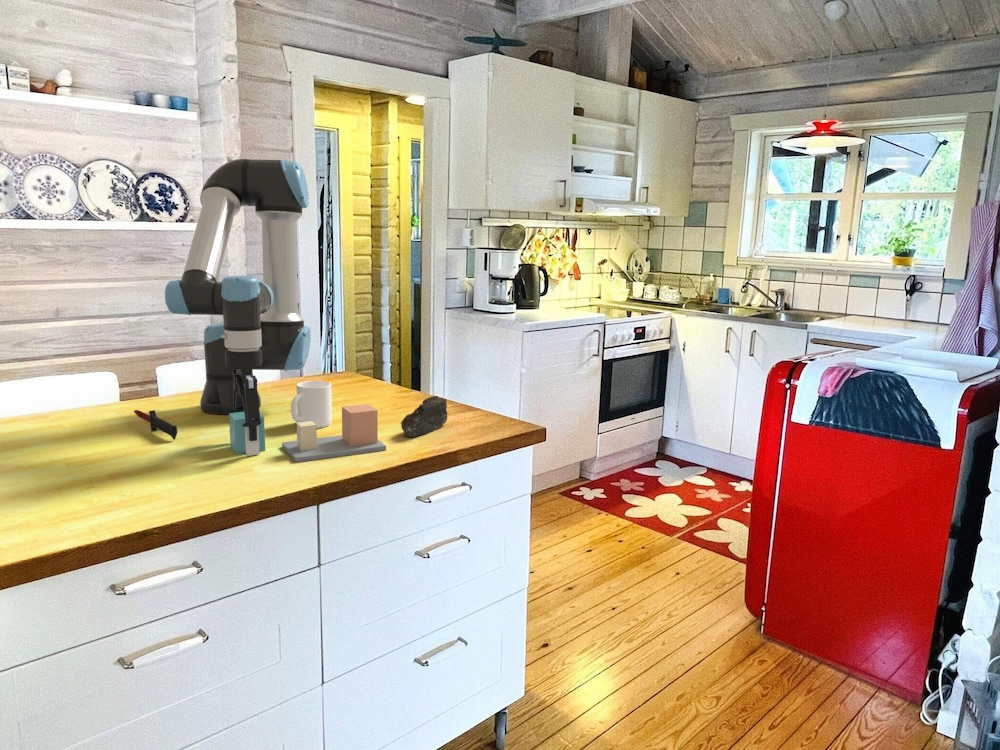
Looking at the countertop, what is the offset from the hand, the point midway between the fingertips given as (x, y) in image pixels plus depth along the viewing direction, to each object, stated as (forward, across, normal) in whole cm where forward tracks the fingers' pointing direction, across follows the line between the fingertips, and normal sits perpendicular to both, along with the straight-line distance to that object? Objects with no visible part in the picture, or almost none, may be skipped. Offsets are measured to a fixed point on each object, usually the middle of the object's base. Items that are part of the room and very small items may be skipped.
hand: (247, 447), depth 157 cm
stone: (0, +3, +41) cm, 41 cm away
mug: (0, -12, +17) cm, 21 cm away
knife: (0, -23, -17) cm, 29 cm away
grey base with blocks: (0, +8, +17) cm, 19 cm away
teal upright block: (0, 0, 0) cm, 0 cm away
